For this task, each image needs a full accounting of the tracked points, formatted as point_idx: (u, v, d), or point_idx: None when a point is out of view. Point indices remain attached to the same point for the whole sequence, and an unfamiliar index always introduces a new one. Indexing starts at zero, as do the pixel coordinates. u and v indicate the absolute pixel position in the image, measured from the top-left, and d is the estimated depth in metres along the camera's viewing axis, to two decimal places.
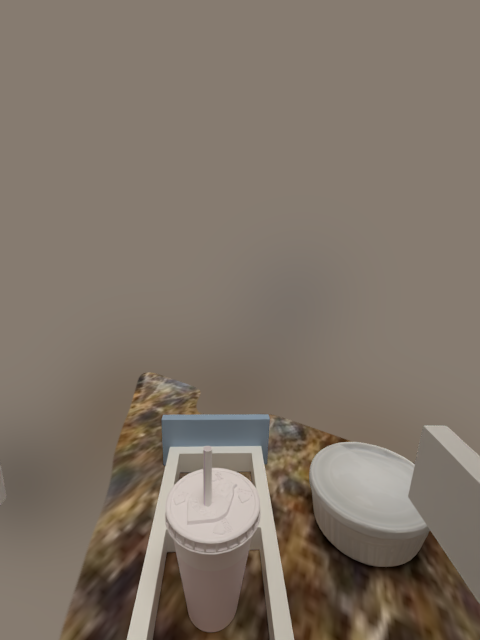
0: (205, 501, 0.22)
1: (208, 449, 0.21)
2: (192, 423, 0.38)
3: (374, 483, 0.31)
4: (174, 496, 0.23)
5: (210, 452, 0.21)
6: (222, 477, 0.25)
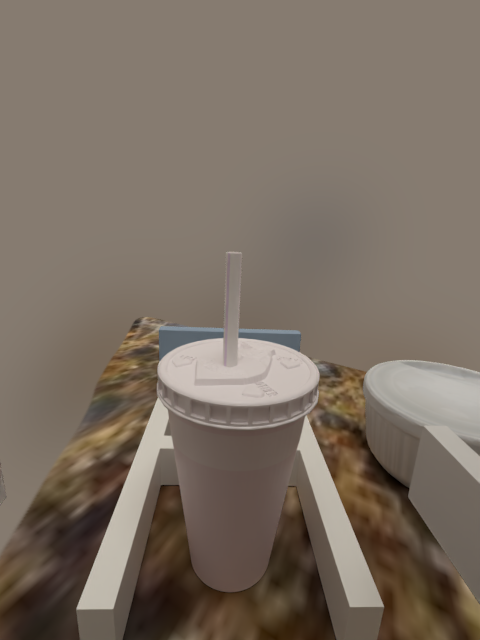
0: (227, 357, 0.13)
1: (236, 252, 0.12)
2: (199, 336, 0.29)
3: (462, 397, 0.22)
4: None
5: (239, 257, 0.12)
6: (250, 346, 0.16)
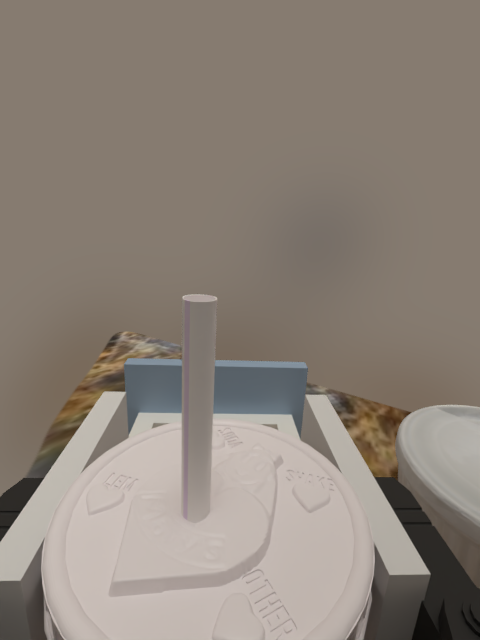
0: (188, 504, 0.06)
1: (203, 299, 0.05)
2: (177, 372, 0.23)
3: None
4: (92, 486, 0.07)
5: (211, 310, 0.05)
6: (240, 440, 0.09)
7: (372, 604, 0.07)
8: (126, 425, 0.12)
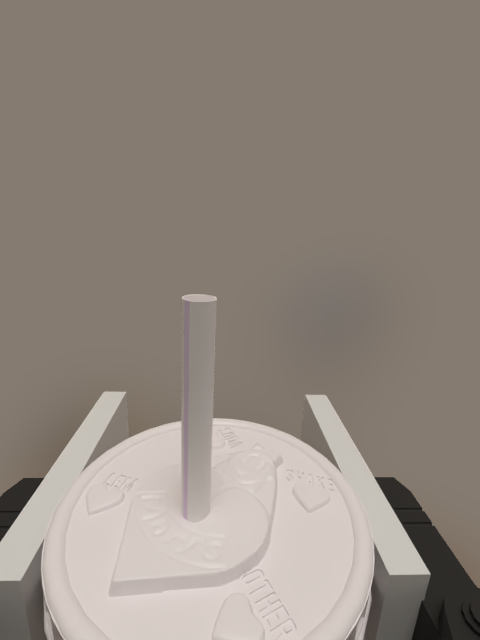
0: (188, 504, 0.06)
1: (203, 298, 0.05)
2: None
3: None
4: (92, 486, 0.07)
5: (210, 310, 0.05)
6: (239, 440, 0.09)
7: (372, 604, 0.07)
8: (126, 425, 0.12)
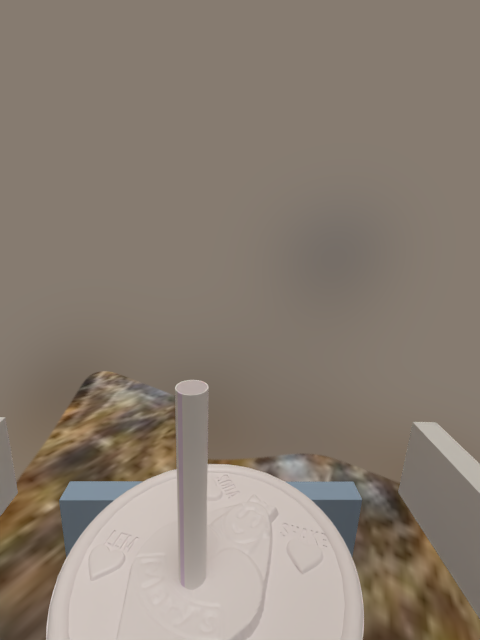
0: (185, 573, 0.07)
1: (195, 389, 0.06)
2: None
3: None
4: (94, 547, 0.08)
5: (202, 401, 0.06)
6: (237, 489, 0.10)
7: None
8: (7, 456, 0.10)
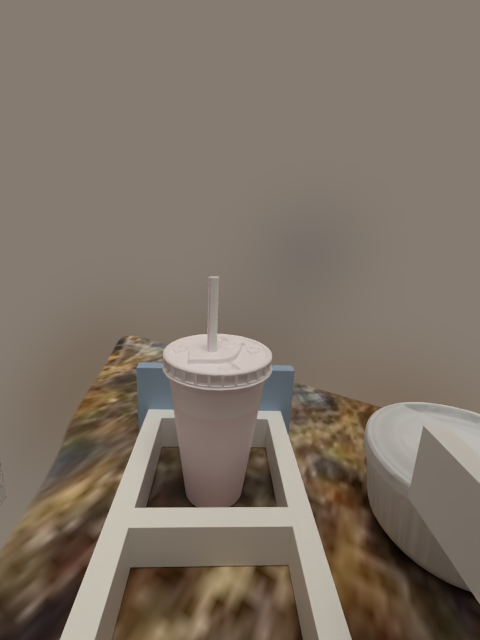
0: (209, 346, 0.19)
1: (214, 277, 0.18)
2: None
3: None
4: (173, 347, 0.20)
5: (217, 280, 0.18)
6: (228, 339, 0.22)
7: None
8: None
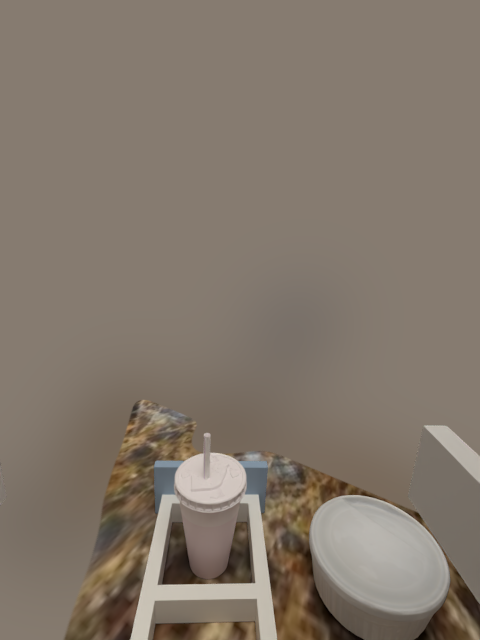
0: (204, 475, 0.29)
1: (207, 435, 0.29)
2: None
3: (379, 549, 0.29)
4: (181, 472, 0.31)
5: (209, 437, 0.29)
6: (218, 459, 0.32)
7: None
8: None
